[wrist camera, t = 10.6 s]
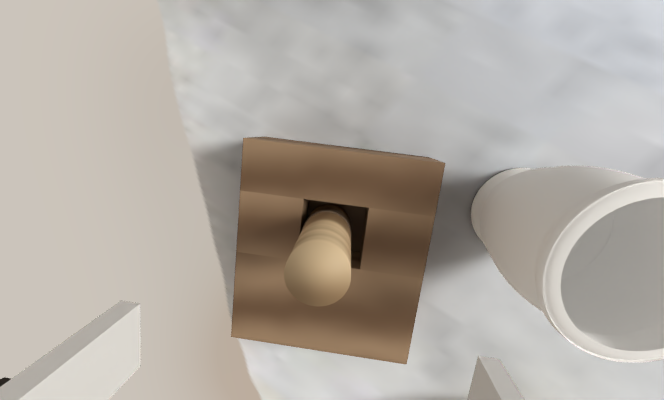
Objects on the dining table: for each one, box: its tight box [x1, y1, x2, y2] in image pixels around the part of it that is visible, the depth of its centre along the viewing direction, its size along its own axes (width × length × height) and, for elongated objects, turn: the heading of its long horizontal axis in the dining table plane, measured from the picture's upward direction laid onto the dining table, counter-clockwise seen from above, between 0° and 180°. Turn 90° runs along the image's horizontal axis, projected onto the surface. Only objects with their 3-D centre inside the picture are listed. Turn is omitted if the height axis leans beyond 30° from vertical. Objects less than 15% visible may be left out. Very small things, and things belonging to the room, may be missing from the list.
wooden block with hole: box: [231, 137, 445, 364], centre depth 31 cm, size 18×16×6 cm
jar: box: [471, 166, 664, 363], centre depth 24 cm, size 11×10×15 cm
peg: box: [284, 204, 351, 307], centre depth 25 cm, size 4×4×12 cm
